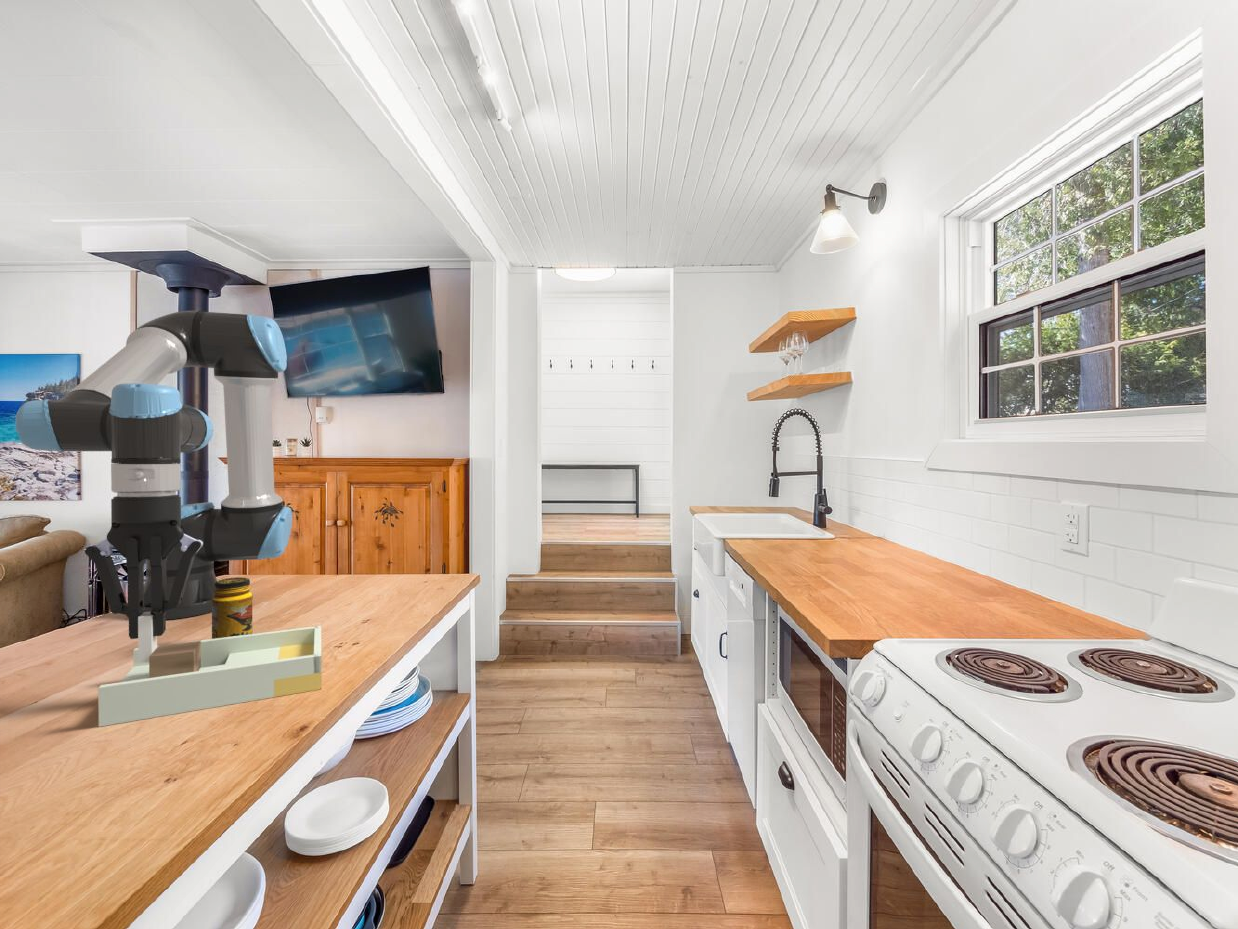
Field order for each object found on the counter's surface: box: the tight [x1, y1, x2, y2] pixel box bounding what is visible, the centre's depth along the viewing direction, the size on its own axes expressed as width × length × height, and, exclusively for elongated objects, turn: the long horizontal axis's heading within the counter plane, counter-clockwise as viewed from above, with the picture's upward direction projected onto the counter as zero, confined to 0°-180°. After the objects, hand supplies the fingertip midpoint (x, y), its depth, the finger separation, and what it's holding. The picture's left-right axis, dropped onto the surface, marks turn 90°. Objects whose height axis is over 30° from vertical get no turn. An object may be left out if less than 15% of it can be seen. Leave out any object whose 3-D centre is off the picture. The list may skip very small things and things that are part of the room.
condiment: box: [211, 576, 254, 639], centre depth 100 cm, size 7×8×12 cm
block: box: [149, 640, 201, 678], centre depth 81 cm, size 5×5×4 cm
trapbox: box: [97, 625, 322, 728], centre depth 84 cm, size 16×25×5 cm, turn 118°
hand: (147, 659), depth 79 cm, fingers closed
